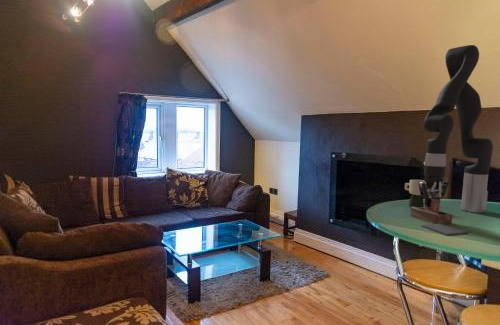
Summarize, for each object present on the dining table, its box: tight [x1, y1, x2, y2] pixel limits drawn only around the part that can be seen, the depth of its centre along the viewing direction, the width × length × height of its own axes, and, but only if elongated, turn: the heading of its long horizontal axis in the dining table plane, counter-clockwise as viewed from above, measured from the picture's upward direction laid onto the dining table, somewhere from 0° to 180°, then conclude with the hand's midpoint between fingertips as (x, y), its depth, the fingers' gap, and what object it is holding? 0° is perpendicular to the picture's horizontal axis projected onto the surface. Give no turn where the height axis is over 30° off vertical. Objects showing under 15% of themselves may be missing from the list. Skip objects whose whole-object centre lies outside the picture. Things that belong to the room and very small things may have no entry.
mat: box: [421, 223, 469, 236], centre depth 127 cm, size 10×11×1 cm
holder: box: [410, 206, 453, 225], centre depth 141 cm, size 8×13×4 cm, turn 18°
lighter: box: [424, 192, 442, 214], centre depth 141 cm, size 8×3×10 cm, turn 5°
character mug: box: [404, 179, 430, 208], centre depth 161 cm, size 11×7×13 cm, turn 56°
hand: (431, 206), depth 141 cm, fingers closed on lighter, 4 cm apart
